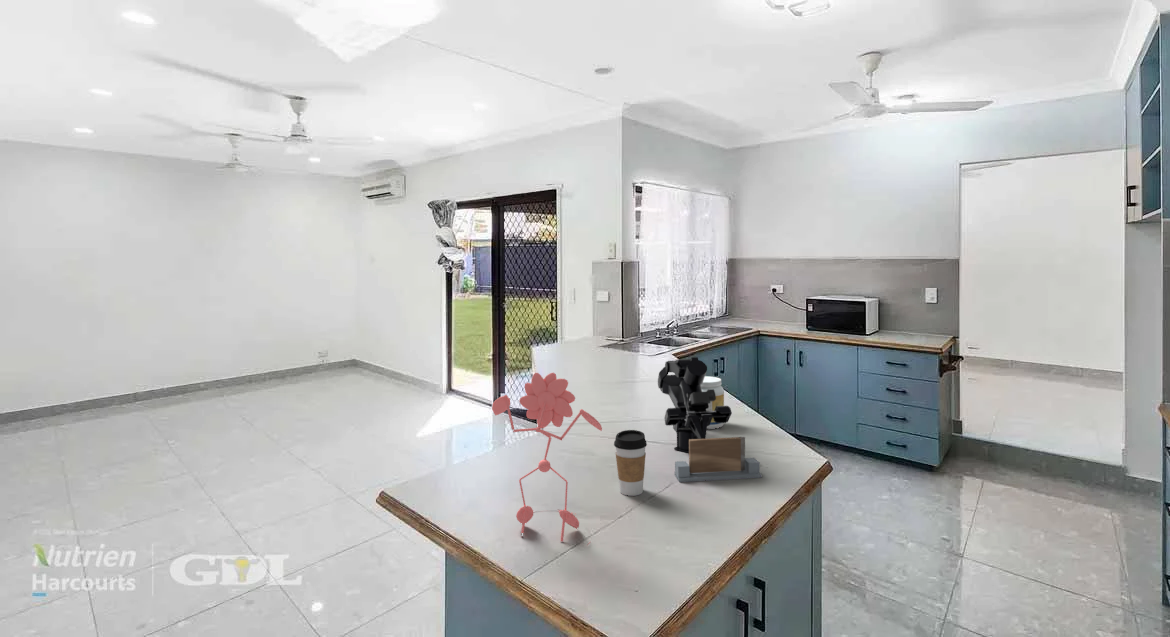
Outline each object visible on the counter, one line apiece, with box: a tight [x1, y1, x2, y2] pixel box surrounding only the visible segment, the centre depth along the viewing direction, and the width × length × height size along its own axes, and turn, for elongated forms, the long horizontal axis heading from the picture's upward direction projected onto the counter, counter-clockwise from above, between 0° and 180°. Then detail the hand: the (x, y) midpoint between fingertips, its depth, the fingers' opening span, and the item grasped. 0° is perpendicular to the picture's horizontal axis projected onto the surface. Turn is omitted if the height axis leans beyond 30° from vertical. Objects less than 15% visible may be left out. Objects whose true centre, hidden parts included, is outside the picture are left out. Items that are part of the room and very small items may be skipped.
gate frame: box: [674, 457, 762, 483], centre depth 148 cm, size 5×23×4 cm, turn 94°
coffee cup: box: [613, 429, 648, 497], centre depth 139 cm, size 8×8×15 cm
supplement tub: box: [701, 375, 725, 430], centre depth 196 cm, size 12×12×17 cm
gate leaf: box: [688, 436, 746, 473], centre depth 148 cm, size 2×15×9 cm, turn 94°
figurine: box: [491, 372, 603, 546], centre depth 121 cm, size 15×26×35 cm, turn 74°
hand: (703, 442), depth 153 cm, fingers closed
